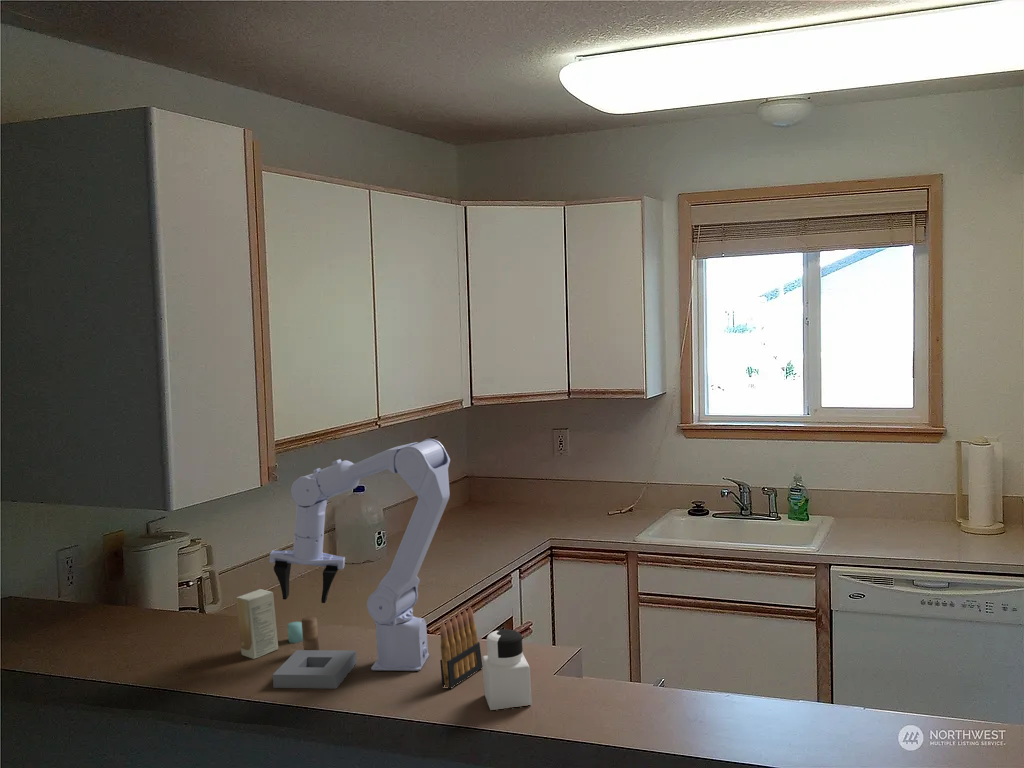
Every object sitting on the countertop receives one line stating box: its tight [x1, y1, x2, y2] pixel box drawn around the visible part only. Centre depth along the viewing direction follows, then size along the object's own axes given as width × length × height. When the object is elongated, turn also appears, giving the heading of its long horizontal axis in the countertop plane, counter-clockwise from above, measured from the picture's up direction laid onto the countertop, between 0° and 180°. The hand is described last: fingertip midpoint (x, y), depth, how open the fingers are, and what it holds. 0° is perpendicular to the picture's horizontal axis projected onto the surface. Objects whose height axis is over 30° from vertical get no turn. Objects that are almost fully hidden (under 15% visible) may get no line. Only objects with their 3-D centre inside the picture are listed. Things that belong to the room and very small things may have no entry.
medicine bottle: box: [481, 628, 532, 711], centre depth 163 cm, size 7×7×12 cm
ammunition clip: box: [439, 606, 483, 688], centre depth 174 cm, size 11×2×12 cm, turn 149°
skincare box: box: [235, 588, 279, 660], centre depth 192 cm, size 6×4×12 cm
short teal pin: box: [286, 621, 303, 644], centre depth 199 cm, size 3×3×4 cm
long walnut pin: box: [301, 616, 320, 650], centre depth 191 cm, size 3×3×7 cm
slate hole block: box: [272, 649, 358, 690], centre depth 179 cm, size 12×12×2 cm
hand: (304, 599), depth 190 cm, fingers open, 7 cm apart
